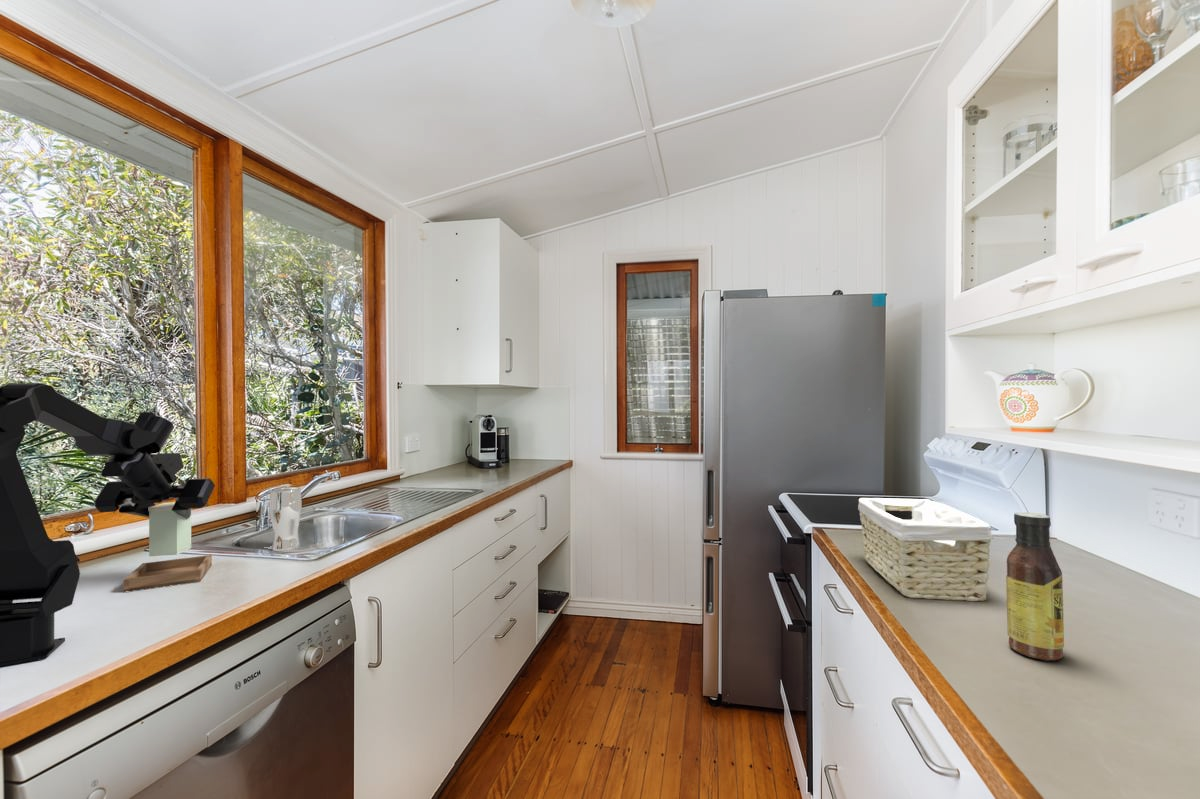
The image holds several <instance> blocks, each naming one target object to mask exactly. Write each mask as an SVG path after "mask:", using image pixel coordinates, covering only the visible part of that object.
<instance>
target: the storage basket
mask: <svg viewBox="0 0 1200 799" xmlns="http://www.w3.org/2000/svg"><path fill="white" fill-rule="evenodd" d="M857 510H858V511H859V520H860V522H861V534H862V544H863V553H864V560H865V562H867V563H868V564H869V565H870V566H871V567H872V568H873V569H874V571H876V572H877V573H879V574H880V575H881V577H883V578H884V580H886V582H888V583H889V584H890V585H891V586H893V587H894V588H895V589H896V591H898V592H900V593H901V595H903V596H904V597H908V598H911V599H928V600H932V599H933V600H934V599H936V600H946V601H947V600H949V601H966V602H978V601H979V602H981V601H985V600H987V594H988V591H987V590H988V584H987V583H988V580H989V573H988V572H989V568H990V562H989V560H990V546H991V544H990V543H991V542H992V540H994V534H993V532H992V527H991V526H990V524H988V523H986V522H985V521H983V520H981V519H979V518H977V517H974V516H973V515H970V514H968V513H965V512H963V511H960V510H958V509H957V508H953V507H951V506H949V505H947V504H944V503H941V502H938V501H934V500H931V499H929V498H924V499H921V498H920V499H919V498H893V497H892V498H891V497H890V498H889V497H888V498H887V497H886V498H884V497H860V498H859V499H858V505H857ZM886 511H890V512H891V511H896V512H898V511H899V512H911V517H912V518H911V519H902V518H899V517H896V516H894V515H892V514H890V513H888V512H886Z"/></svg>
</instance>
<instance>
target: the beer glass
mask: <svg viewBox="0 0 1200 799" xmlns="http://www.w3.org/2000/svg"><path fill="white" fill-rule="evenodd" d="M301 490H302V489H301V487H299V486H297V487H296V486H295V487H293V486H290V487H289V486H288V487H279V488H273V489H271V490H270V494H269V515H270V516H269V517H270V520H271V526H272V531H273V532H272V533H273V539H272V540H273V541H272V544H271V545H272V546H271V550H272V552H273V551H274V552H285V551H287V552H288V551H292V550H294V549H298V548H300V546H301V544H300V539H299V525H300V521H301V515H302V514H301V513H302V509H303V508H302V504H303V503H302V500H303V499H302V492H301Z"/></svg>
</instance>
